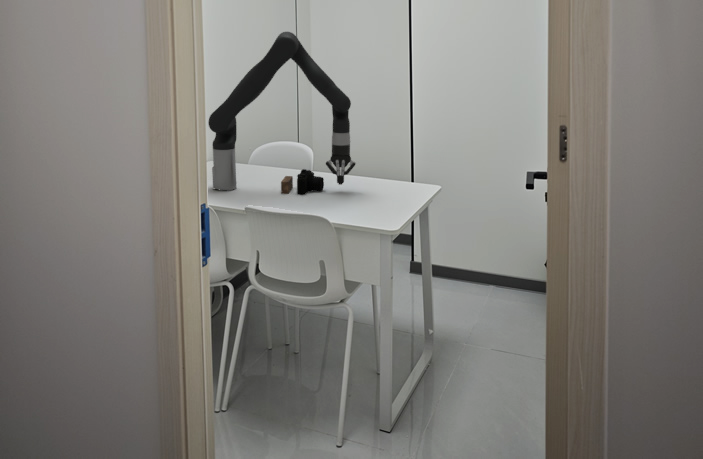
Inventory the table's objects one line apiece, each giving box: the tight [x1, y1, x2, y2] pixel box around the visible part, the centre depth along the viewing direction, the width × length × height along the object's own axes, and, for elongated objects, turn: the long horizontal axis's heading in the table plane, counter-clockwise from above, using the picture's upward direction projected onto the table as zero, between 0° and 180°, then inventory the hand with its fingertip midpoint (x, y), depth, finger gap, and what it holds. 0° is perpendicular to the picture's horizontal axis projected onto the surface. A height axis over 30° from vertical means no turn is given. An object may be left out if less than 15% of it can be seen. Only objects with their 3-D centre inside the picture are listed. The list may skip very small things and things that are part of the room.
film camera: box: [296, 168, 325, 196], centre depth 308 cm, size 15×10×9 cm, turn 168°
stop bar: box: [280, 175, 294, 195], centre depth 309 cm, size 3×11×5 cm, turn 175°
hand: (340, 184), depth 307 cm, fingers closed
